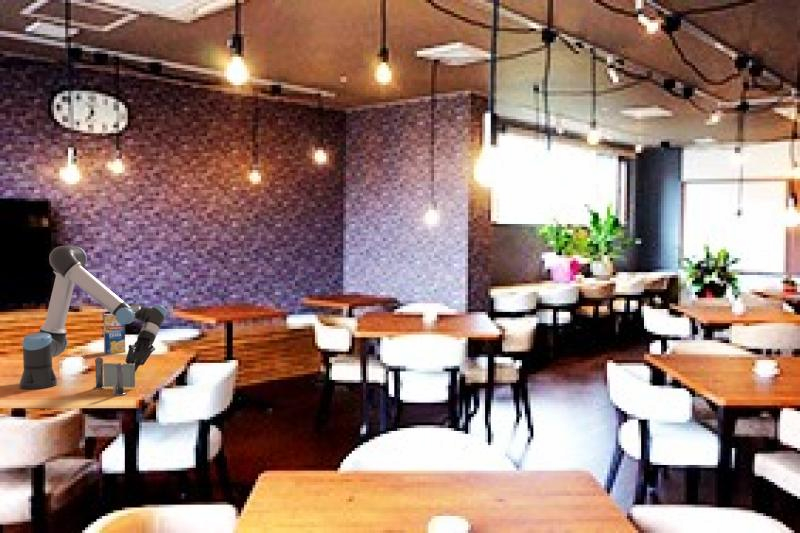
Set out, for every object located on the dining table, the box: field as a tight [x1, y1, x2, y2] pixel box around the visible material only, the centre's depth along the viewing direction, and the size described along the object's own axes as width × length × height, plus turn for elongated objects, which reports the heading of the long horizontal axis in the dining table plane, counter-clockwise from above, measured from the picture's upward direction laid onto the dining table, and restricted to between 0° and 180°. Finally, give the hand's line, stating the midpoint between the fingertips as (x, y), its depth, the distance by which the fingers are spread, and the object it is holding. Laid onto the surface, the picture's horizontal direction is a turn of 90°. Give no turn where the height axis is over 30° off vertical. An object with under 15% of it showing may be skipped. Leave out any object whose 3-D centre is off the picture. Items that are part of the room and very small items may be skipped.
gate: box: [103, 362, 136, 388], centre depth 315 cm, size 14×2×10 cm, turn 82°
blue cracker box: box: [102, 313, 126, 355], centre depth 410 cm, size 7×11×22 cm, turn 118°
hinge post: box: [93, 356, 106, 390], centre depth 316 cm, size 5×5×14 cm
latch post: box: [112, 362, 128, 397], centre depth 305 cm, size 6×5×14 cm
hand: (127, 377), depth 317 cm, fingers closed
